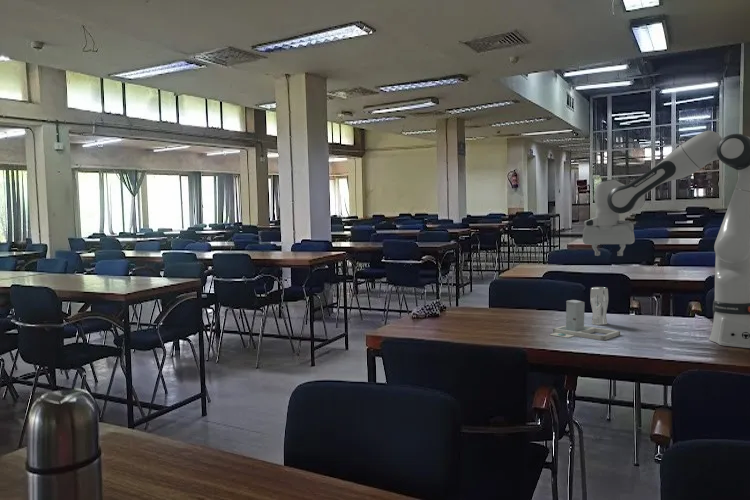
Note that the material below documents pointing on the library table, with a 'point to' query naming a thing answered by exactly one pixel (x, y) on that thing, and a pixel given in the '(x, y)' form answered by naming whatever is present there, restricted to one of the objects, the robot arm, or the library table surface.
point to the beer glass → (599, 305)
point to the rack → (585, 333)
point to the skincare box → (575, 315)
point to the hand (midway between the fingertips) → (608, 255)
